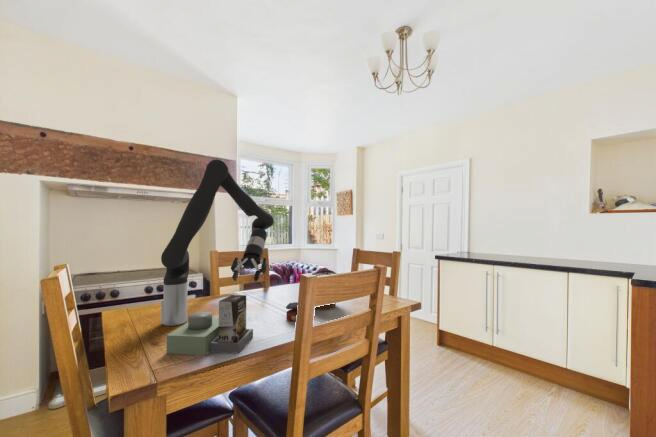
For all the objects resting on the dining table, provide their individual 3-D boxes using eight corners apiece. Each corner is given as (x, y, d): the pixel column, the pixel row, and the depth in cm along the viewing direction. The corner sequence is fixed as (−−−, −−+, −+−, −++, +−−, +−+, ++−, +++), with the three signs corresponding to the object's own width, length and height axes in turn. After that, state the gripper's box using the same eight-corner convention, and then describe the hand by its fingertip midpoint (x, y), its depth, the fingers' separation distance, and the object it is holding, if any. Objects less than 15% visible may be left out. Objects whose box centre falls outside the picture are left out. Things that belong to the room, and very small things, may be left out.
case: (313, 314, 134) (314, 276, 134) (300, 303, 152) (300, 270, 153) (347, 310, 141) (347, 274, 141) (330, 300, 159) (331, 268, 160)
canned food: (286, 330, 127) (277, 309, 129) (300, 321, 136) (292, 301, 138) (302, 323, 121) (292, 301, 123) (316, 314, 130) (307, 294, 132)
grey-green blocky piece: (166, 353, 95) (166, 323, 95) (196, 332, 113) (196, 307, 113) (235, 356, 93) (236, 325, 93) (254, 334, 111) (254, 308, 111)
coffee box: (234, 348, 97) (234, 301, 98) (217, 347, 99) (217, 300, 99) (247, 338, 106) (247, 294, 107) (231, 336, 108) (231, 294, 108)
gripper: (236, 243, 124) (224, 274, 112) (268, 243, 123) (259, 275, 111) (241, 254, 129) (230, 285, 118) (272, 254, 128) (264, 285, 116)
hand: (244, 280), depth 114 cm, fingers open, 8 cm apart
